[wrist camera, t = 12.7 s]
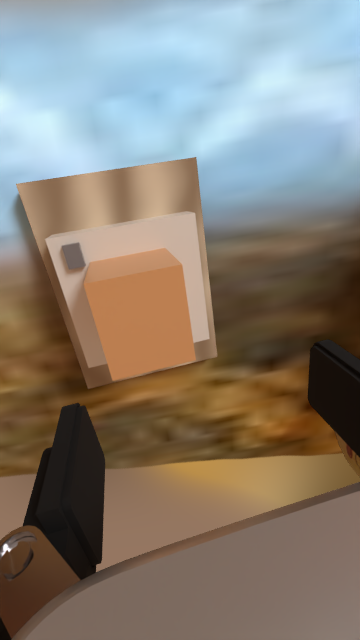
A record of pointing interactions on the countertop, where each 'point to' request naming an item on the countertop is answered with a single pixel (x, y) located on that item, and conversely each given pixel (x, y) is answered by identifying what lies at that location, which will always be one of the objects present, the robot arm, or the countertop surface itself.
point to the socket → (120, 240)
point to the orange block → (140, 312)
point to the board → (111, 208)
